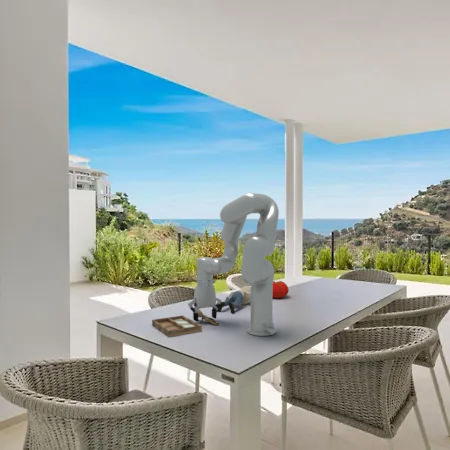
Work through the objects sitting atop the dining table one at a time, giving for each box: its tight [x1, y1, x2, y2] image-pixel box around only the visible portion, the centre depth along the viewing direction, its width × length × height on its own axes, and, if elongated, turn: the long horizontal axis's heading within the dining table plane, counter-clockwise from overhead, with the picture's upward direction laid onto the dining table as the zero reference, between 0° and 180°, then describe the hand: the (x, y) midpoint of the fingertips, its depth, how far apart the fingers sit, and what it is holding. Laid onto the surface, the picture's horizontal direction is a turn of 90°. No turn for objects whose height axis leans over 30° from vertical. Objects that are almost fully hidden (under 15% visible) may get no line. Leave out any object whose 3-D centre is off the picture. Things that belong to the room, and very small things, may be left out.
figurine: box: [197, 309, 220, 327], centre depth 179 cm, size 4×4×15 cm
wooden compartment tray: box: [151, 315, 203, 338], centre depth 170 cm, size 21×15×2 cm
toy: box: [217, 285, 251, 315], centre depth 210 cm, size 23×10×30 cm
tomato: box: [272, 280, 289, 299], centre depth 236 cm, size 14×16×10 cm
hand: (205, 319), depth 179 cm, fingers open, 9 cm apart
